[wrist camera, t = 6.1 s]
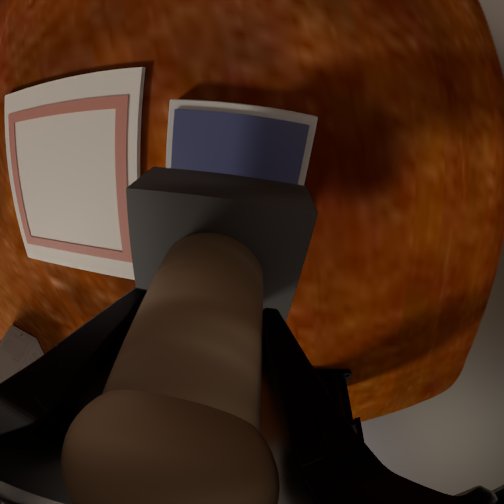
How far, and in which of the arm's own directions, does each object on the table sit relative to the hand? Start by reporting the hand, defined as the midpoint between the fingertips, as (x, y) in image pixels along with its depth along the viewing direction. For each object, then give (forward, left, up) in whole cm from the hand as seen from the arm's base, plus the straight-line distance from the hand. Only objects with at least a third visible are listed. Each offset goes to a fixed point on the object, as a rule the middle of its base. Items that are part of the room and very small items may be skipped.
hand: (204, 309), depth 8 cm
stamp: (0, 0, -4) cm, 4 cm away
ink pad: (0, 0, -10) cm, 10 cm away
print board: (+13, 0, -10) cm, 16 cm away
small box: (+29, +26, -10) cm, 40 cm away
